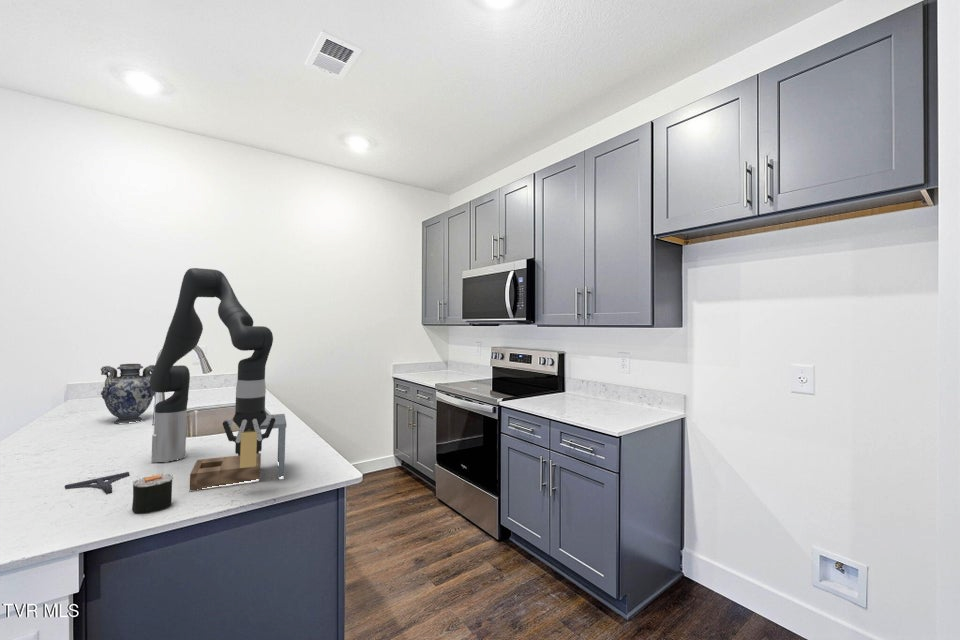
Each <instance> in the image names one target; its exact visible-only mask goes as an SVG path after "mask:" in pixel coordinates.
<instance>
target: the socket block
mask: <svg viewBox="0 0 960 640" xmlns="http://www.w3.org/2000/svg"><path fill="white" fill-rule="evenodd" d="M261 459H262V453H261V452H259V454H256V466H255V467H246V468H240V456H238V455H230V456H221V457H213V458H212V457H211V458H202V459H197V460H196V462H194V463H195V464H194V466H193V467H192V469H191V471H190V474H189V491H190V490H196V491H198V490H197V489H202V488H207V487H212V486H219V485H226V484H233V483H239V482H244V481H251V480H256V479H260V480H261V462H262V460H261Z"/></svg>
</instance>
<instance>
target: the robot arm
mask: <svg viewBox="0 0 960 640" xmlns="http://www.w3.org/2000/svg"><path fill="white" fill-rule="evenodd" d="M198 298H217V299H219V301H220V302H219V304H218V306H217V307H218V308H217V314H218V317H219V319H220V320H221V322H222V323H223V325H224V326H225V327H226V328H227V330H228V333H229V336H230V341H231V344H232V346H233V348H235V349H237V350H239V351H244V352H245V351H246V352H247V351H253V353H252V354H251V355H250V356H248V357H246V358H242V359H240V360H239V361H238V363H237V381H236V386H235V412H234V415H233V417H232V418H229V419H224V420H223V421H222V427H223V429H224V432H225V434H226V437H227V440H228V442H234V443H235V446H234V447H235V452H234V453H235V455H236V454H237V456H240V449H241V433H243V432H244V431H247V430H255V431H257V449H256V454H259V453H261V452H262V451H263V450H262V448H263V447H262V446H263V444H262V443H263V440H265V439H268V438H269V437H270V435H271V433H272V430H273V429H274V428H273V425H274V423H275V417H269V416H266V415H267V414H266V411H265V410H266V392H267V390H266V364H267V361H268V359H269V355H270V353H271V350H272V346H273V343H274V335H273V332H272V331H271V329H270V328H269V327H267V326H263V325H261V326H258V325H255V326H254V319H253V318H252V316H251V314H249V312H248V311H247V310H246V309H245V307H244V306H242V304H241V303H240V301H239V299H238V297H237V296H236V294H235V292H234V289H233V287H232V286H231V284H230V282H229V280H228V278H227V277H226V275H225V274H224V273H223V271H221V270H218V269H213V268H212V269H211V268H198V267H191V268H188V269H187V270H186V272H185V273H184V275H183V278H182V281H181V286H180V289H179V295H178V300H177V304H176V307H175V310H174V313H173V316H172V319H171V322H170V324H169V327H168V329H167V333H166V335H165V339H164V343H163V346H162V349H161V352H160V354H159V355H158V358H157V360H156V362H155V364H154V365H155V366H154V368H153V371H152V373H151V372H150V374H151V377H150V388H151V390H152V391H154V392H155V393H157V394H159V393H160V394H161V393H170V392H173V394H171V396H169V397H168V398H166V399H163V400H161V401H159V402H156V404H155V405H154V424H153V425H154V427H153V434H152V438H151V458H150V459H151V462H150V463H153V462H154V463H157V462H165V463H169V462H168V461H172V462H174V461H173V460H177V459H180V460H182V459H181V458H183V457H184V456H185V457H186V453H187V452H186V446H187V445H186V444H187V443H186V442H187V415H188V414H187V413H188V411H187V410H188V402H189V393H190V391H189V390H190V381H191V374H190V369H189V367H187V365H181V364H180V365H175V364H176V363H177V362H178V361H180V360H181V359H182V358H183V357H186V356H187V355H188V354H189V353H190V352H192V351H193V350H194V349H195V348H196V347H197V346H198V343H199V342H200V338H201V336H202V334H203V330H204V329H203V328H204V327H203V323H202V321H201V318H200V316H199V315H198V313H197V312H196V309H195V302H196V299H198ZM265 419H266V420H267V424H268V427H267V429H265V432H264V433H262V431H261V429H260V425H261V424H262V423H263V422H264V420H265ZM233 423H235V425H236V427H238V428H239V429H238V431H237V435H234V433H233V430H232V426H233ZM272 428H273V429H272ZM185 457H184V458H185ZM184 458H183V459H184ZM177 461H178V460H177Z"/></svg>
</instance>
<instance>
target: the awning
mask: <svg viewBox="0 0 960 640" xmlns="http://www.w3.org/2000/svg"><path fill="white" fill-rule="evenodd" d="M266 416H269V417H275V423H274V425H273V428H272V430H273V429H277V430H278V431H277V433H278V434H277V461H278V462H279V466H278V475H279V477H281V476H284V477H285V463H286V462H285V461H286V460H285V458H286V428H287V418H286V414H285V413H278V414H277V413H276V414H275V413H274V414H266ZM267 427H268V424H267V420H266V419H265V420H264V422H263V423H262V424H261V425H260V429H261V430H266V429H267Z"/></svg>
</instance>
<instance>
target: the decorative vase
mask: <svg viewBox="0 0 960 640" xmlns="http://www.w3.org/2000/svg"><path fill="white" fill-rule="evenodd" d="M154 366H155V364H150V365H147V366H146V367H145V368H144V366H143V365H142V364H141V363H123V364H121V363H120V364H119V366H117V368H115V367H113V366H111V365H105V366H102V367H101V368H100V372H101V373H100V375H101V376H105V381H104V386H103V388H102V391H101V392H100V395H101V398H102V399H103V401H104V404H105V406H106V409H107V410H108V411H109V413H110V414H111V415H113V416H114V417H116V418H117V419H116V420H114V421H113V423H114V424H115V423H129V422H136V421H140V422H142V421H143V419H144V418H142V417H141V415H142V414H143V415H144V413H145V412H146V411H147V410H148V408H149V407H150V405H151V404H152V402H153V398H154V397H155V395H156V392H154V391H152V390H151V388H150V377H151V373H152V371H153V368H154ZM141 369H143V370H142V375H141V371H140V370H141ZM118 370H119V371H120V372H119V376H118ZM141 420H142V421H141ZM136 423H137V422H136Z"/></svg>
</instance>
